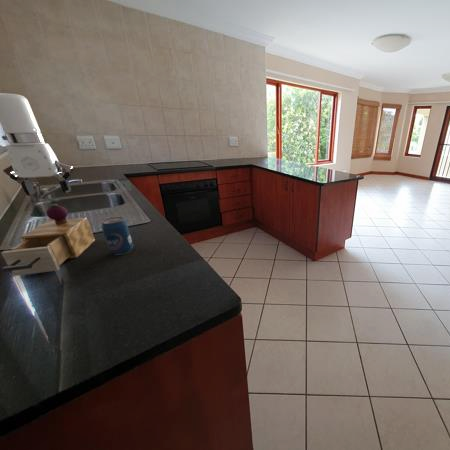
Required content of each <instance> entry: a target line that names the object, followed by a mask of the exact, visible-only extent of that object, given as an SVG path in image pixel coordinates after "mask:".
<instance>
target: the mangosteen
mask: <svg viewBox="0 0 450 450" xmlns="http://www.w3.org/2000/svg"><path fill="white" fill-rule="evenodd" d="M46 215H47V217H48V218H49V219H50V220H55V223H56V224H64V223H67V219H68V218H67V217H68V215H69V211H68V209H67V208H66V207H64V206H62V205H58V203H53V204H52V203H51V204H50V207H48V208H47V209H46Z"/></svg>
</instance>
